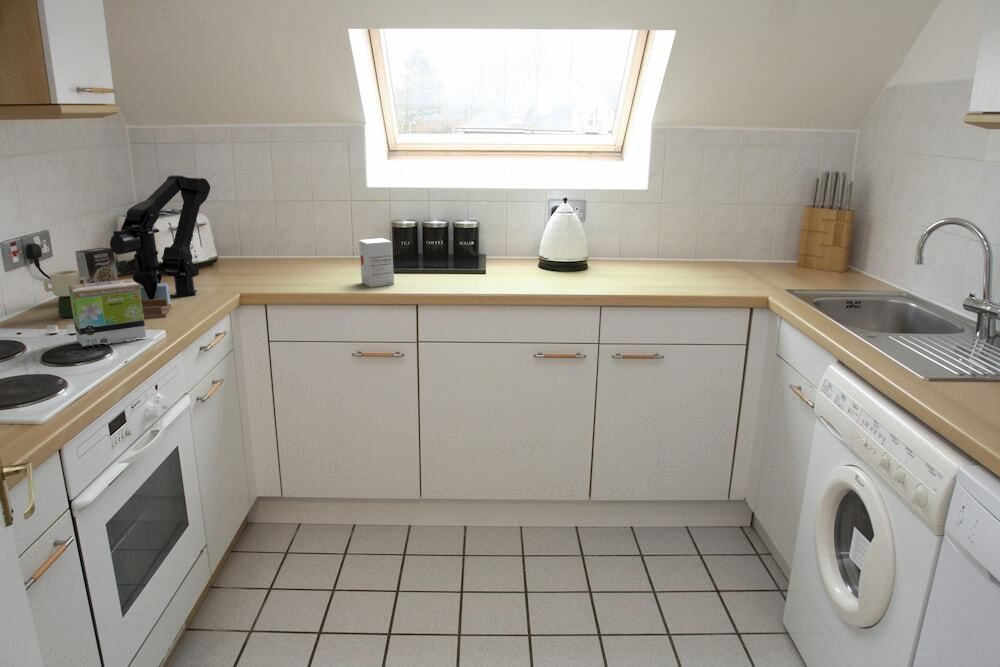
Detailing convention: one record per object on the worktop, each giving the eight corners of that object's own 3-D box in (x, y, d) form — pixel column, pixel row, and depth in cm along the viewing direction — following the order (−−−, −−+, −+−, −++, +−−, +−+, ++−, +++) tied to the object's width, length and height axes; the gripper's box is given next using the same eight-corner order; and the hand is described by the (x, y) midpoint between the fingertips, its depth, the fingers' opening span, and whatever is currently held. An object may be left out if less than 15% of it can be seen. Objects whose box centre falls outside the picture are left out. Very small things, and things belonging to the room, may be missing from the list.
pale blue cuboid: (139, 303, 231) (136, 284, 230) (170, 301, 234) (167, 282, 232) (136, 307, 227) (133, 288, 225) (168, 305, 229) (165, 286, 227)
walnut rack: (121, 311, 222) (119, 301, 221) (171, 307, 225) (170, 297, 224) (112, 321, 211) (110, 310, 210) (165, 317, 214) (164, 306, 213)
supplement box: (361, 282, 257) (358, 239, 252) (385, 280, 261) (383, 237, 257) (369, 287, 249) (366, 243, 245) (394, 284, 253) (392, 240, 249)
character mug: (92, 311, 222) (85, 268, 218) (92, 316, 216) (85, 272, 212) (50, 316, 217) (42, 272, 213) (49, 321, 211) (41, 276, 207)
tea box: (82, 349, 184) (72, 291, 180) (76, 340, 192) (67, 284, 188) (147, 339, 192) (139, 283, 188) (139, 331, 200) (131, 277, 196)
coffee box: (94, 303, 232) (86, 252, 227) (82, 301, 235) (73, 250, 230) (121, 297, 239) (113, 248, 235) (109, 295, 242) (101, 246, 238)
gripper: (123, 245, 232) (130, 294, 236) (110, 255, 215) (118, 308, 219) (161, 243, 235) (168, 292, 239) (151, 253, 218) (159, 305, 222)
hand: (153, 299), depth 230 cm, fingers open, 5 cm apart
